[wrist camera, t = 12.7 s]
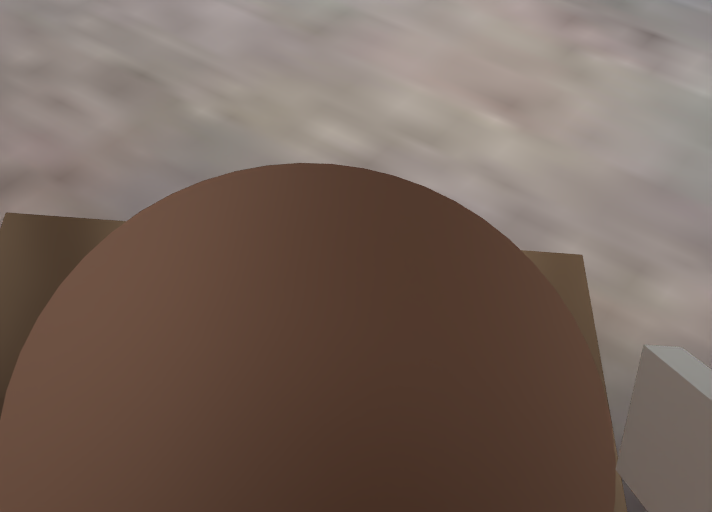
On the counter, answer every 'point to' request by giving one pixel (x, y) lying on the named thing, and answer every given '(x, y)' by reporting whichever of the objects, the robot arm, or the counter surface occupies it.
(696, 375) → the robot arm
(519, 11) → the counter surface
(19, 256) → the walnut socket block
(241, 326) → the terracotta peg
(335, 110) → the counter surface
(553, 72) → the counter surface
